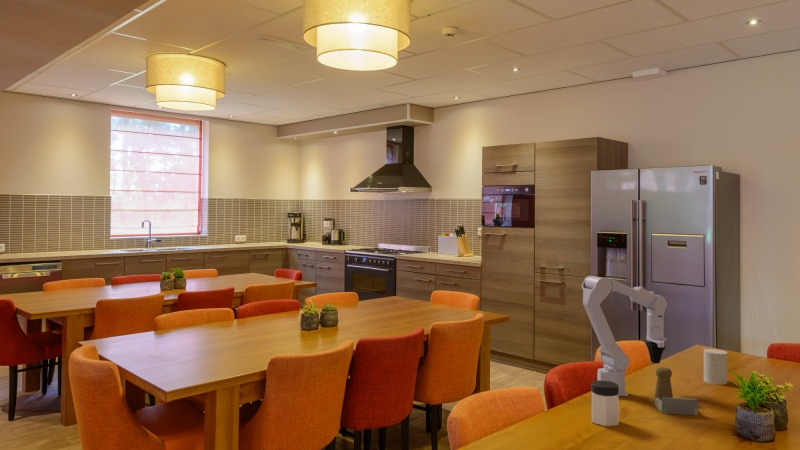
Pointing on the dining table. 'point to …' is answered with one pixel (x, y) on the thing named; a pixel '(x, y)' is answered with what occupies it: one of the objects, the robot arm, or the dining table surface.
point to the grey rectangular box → (677, 405)
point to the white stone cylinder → (715, 366)
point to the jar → (605, 403)
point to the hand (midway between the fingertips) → (655, 362)
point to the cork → (663, 383)
